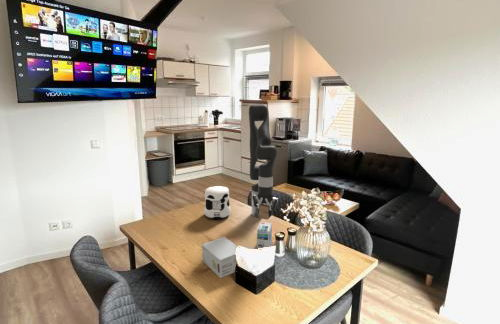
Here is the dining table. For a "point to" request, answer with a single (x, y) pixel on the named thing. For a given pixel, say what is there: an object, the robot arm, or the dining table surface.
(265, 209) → the walnut block
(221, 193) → the milk container
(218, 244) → the supplement box
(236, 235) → the dining table surface
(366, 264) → the dining table surface
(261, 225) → the light bulb box
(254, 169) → the robot arm
